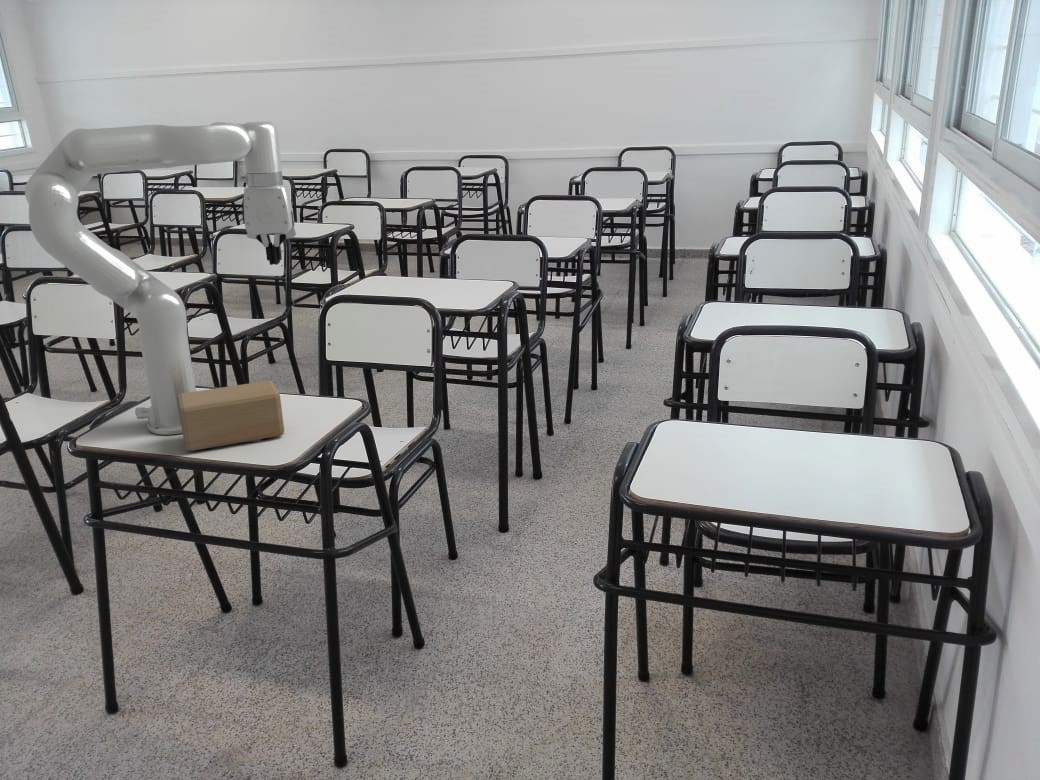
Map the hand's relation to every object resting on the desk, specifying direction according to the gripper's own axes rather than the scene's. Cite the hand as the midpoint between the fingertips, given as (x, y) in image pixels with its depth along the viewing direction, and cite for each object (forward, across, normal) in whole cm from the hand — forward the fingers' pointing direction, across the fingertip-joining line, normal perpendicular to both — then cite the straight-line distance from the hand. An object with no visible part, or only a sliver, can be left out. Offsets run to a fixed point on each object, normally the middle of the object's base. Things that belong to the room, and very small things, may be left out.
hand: (275, 263), depth 191 cm
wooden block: (+28, +2, -19) cm, 34 cm away
